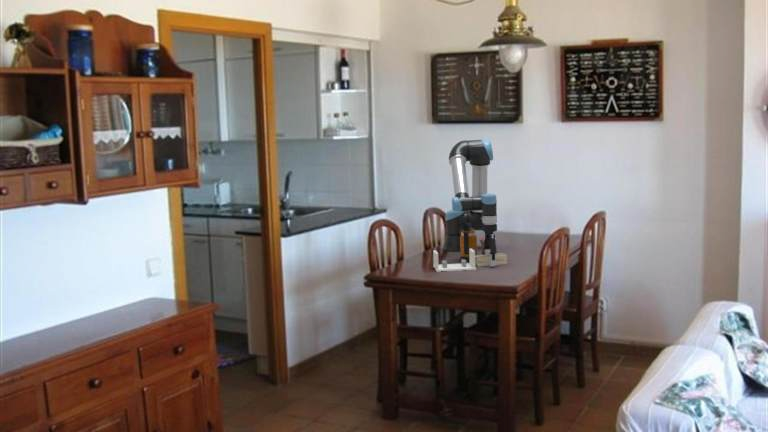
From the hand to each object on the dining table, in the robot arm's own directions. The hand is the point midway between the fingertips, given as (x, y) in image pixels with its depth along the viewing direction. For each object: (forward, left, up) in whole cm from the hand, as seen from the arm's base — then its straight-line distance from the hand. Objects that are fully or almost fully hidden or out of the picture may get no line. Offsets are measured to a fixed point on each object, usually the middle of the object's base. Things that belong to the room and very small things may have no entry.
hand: (490, 264), depth 415 cm
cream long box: (0, 0, -1) cm, 1 cm away
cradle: (+6, -20, 0) cm, 21 cm away
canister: (-15, -9, 0) cm, 18 cm away
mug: (-19, +3, 0) cm, 19 cm away
